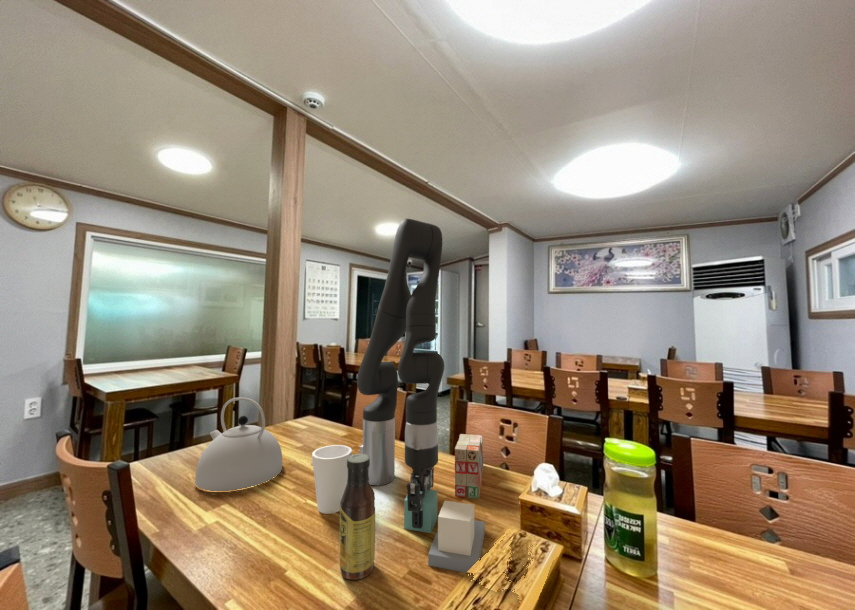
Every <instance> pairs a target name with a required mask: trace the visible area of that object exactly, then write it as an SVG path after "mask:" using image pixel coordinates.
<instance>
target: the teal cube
mask: <svg viewBox="0 0 855 610" xmlns="http://www.w3.org/2000/svg"><path fill="white" fill-rule="evenodd" d="M422 493H423V491H420V494H422ZM403 502H404V503H403V510H404V511H403V529H404V530H409V531H415V532H421V533H428V534H431V533H432V532H433V530H434V527H435V525H436V522H437V521H438V490H436V489H432V490H428V489H427V493H426V498H424V501H423V526H422V528H421V529H419V528H413V527H412V511H408V502H407V496H405V498H404V500H403ZM414 503H416V502H414ZM416 504H417V503H416Z"/></svg>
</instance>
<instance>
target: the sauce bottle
mask: <svg viewBox="0 0 855 610" xmlns="http://www.w3.org/2000/svg"><path fill="white" fill-rule="evenodd" d="M369 465H370V458H369V456H368V455H366V454H360V453H355V454H352V455H351V456H350V457H348V458H347V468H348V479H347V485H346V488H345V491H344V494H343V496H342V499H341V502H340V511H339V552H338V553H339V556H338V557H339V561H338V564H339V570H340V573H341V575H342V578H344V579H346V580H352V581H356V580H357V581H358V580H362V579H364V578H367V576H369V575H370V574H371V573H372V571H373V569H374V565H375V557H376V556H375V549H376V548H375V547H376V545H375V544H376V533H375V532H376V506H375V505H376V504H375V500H376V496H375V492H374V489H373V487H372V485H370V484H369V482H368V481H369V477H368V469H369Z"/></svg>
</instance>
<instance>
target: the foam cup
mask: <svg viewBox="0 0 855 610" xmlns="http://www.w3.org/2000/svg"><path fill="white" fill-rule="evenodd" d="M351 455H353V450H352V448H351V447H350V446H348V445H344V444H343V445H342V444H333V445H332V444H331V445H326V446H322V447H319V448H316V449H315V450H314V451H312V453H311V467H312V468H313V477H314V486H315V495H316V496H315V497H316V506H317V511H318V513H321V514H324V515H325V514H326V515H327V514H330V515H331V514H335V513H338V512H340V502H341V499H342V496H343V494H344V491H345V488H346V485H347V479H348V468H347V458H348V457H350V456H351Z"/></svg>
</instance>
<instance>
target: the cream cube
mask: <svg viewBox="0 0 855 610" xmlns="http://www.w3.org/2000/svg"><path fill="white" fill-rule="evenodd" d="M474 520H475V504H472V503H463V502H458V501H451V500H450V501H448V500H444V502H443V504H442V506H441V508H440V511H439V513H438V515H437V531H438V550H440V551H445V552H451V553H457V554H462V555H468V556H470V555H471V550H472V545H473V541H474Z"/></svg>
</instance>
